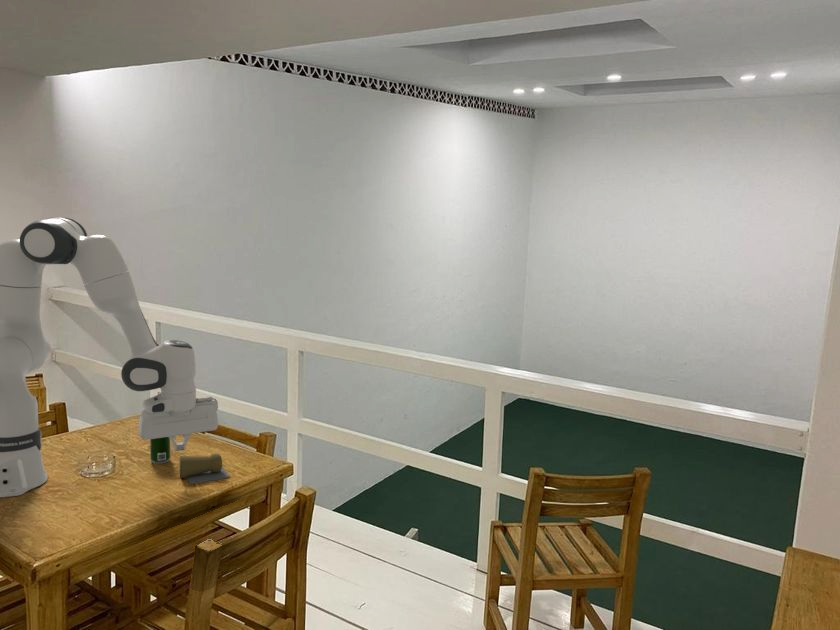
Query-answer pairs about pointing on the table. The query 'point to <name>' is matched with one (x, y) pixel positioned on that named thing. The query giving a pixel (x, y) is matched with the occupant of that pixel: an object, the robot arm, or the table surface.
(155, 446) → the beer can
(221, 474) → the mat
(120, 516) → the table surface
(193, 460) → the cork
